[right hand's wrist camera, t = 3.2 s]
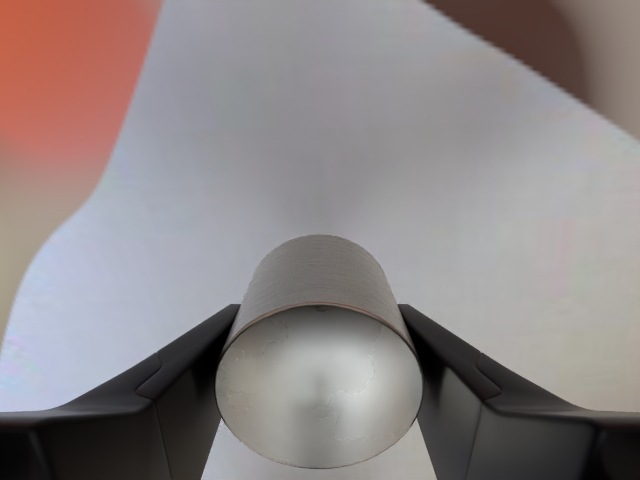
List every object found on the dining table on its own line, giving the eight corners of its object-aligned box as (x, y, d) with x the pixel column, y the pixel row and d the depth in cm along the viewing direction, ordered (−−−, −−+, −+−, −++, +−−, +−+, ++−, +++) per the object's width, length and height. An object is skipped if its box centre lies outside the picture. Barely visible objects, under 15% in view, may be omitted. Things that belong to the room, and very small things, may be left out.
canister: (399, 341, 13) (438, 451, 9) (273, 367, 13) (251, 484, 9) (373, 218, 11) (406, 280, 7) (230, 253, 12) (178, 331, 7)
